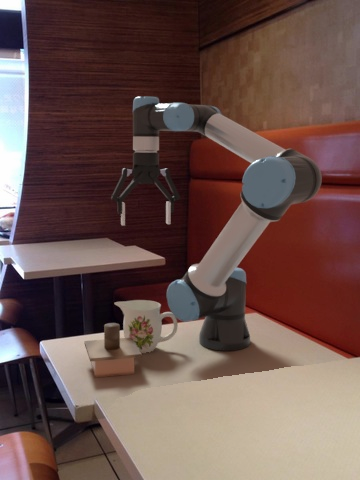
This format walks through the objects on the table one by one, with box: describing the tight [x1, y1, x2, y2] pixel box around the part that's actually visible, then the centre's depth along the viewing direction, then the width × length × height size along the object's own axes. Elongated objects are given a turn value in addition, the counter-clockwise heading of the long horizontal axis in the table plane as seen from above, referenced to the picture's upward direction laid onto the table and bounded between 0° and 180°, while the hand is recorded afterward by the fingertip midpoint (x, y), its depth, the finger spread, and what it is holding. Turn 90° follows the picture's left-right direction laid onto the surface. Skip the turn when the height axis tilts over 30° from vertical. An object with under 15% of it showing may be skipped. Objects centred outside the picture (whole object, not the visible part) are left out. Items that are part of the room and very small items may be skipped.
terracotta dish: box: [90, 358, 135, 378], centre depth 155 cm, size 10×10×5 cm
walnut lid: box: [84, 322, 143, 363], centre depth 154 cm, size 13×13×7 cm
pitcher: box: [114, 299, 178, 354], centre depth 169 cm, size 11×18×14 cm, turn 92°
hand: (145, 224), depth 174 cm, fingers open, 13 cm apart
